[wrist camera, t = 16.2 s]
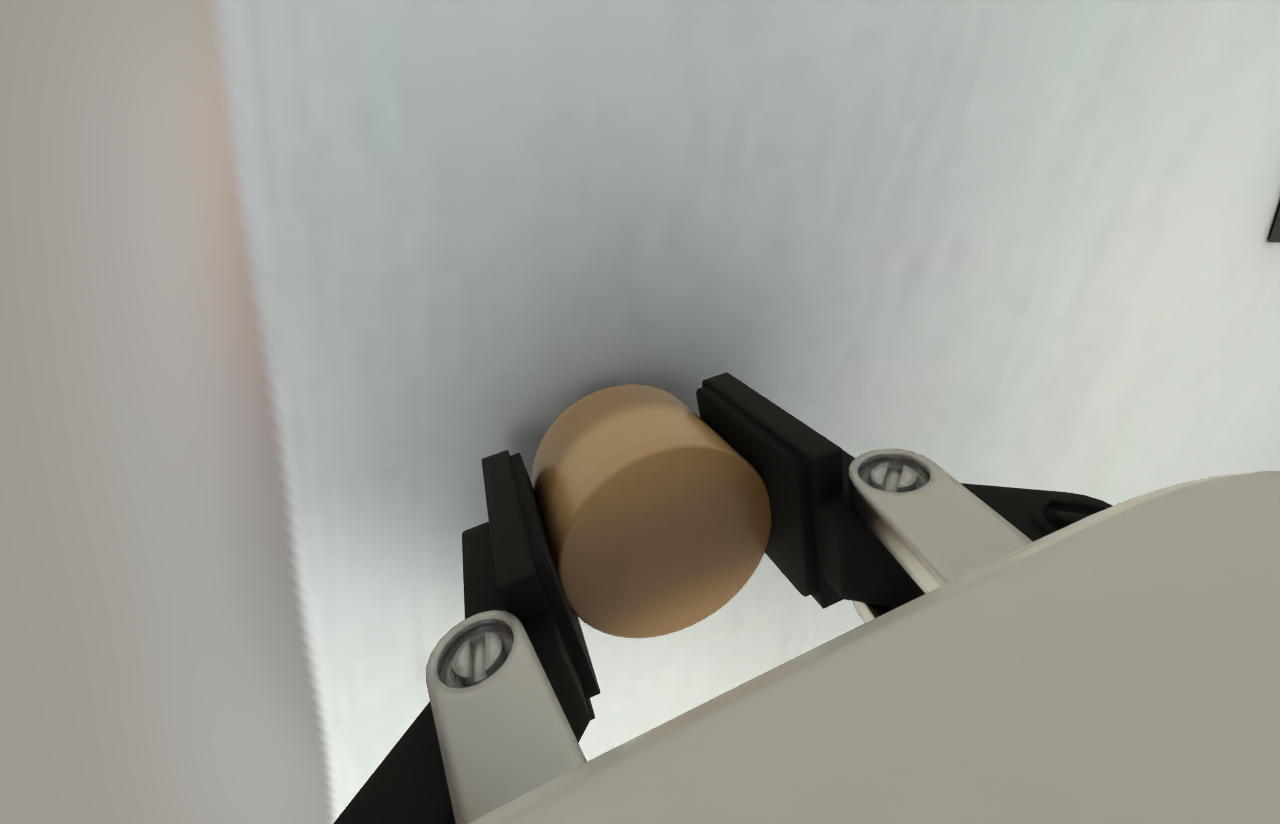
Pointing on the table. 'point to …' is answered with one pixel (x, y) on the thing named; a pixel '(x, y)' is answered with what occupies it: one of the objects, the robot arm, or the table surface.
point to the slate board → (1276, 229)
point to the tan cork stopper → (647, 512)
